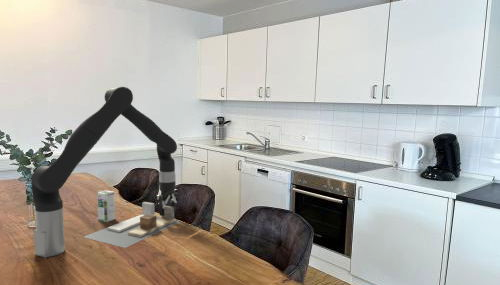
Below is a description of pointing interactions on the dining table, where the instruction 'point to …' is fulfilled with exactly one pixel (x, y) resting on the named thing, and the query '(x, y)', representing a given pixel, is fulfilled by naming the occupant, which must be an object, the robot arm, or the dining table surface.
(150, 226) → the walnut block
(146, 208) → the white long l-shaped piece
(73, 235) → the dining table surface
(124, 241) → the lane board
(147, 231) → the birch strip
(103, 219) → the syrup box
